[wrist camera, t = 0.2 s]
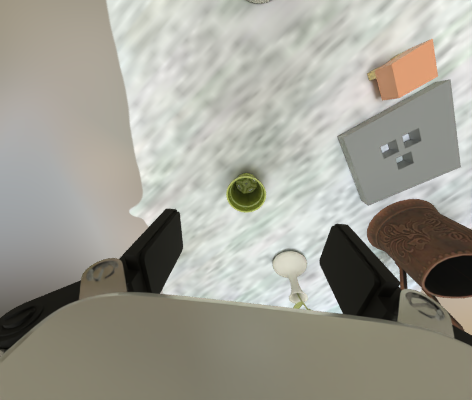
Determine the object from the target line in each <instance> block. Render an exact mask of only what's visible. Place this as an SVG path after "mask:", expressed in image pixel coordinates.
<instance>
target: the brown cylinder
mask: <svg viewBox="0 0 472 400" xmlns="http://www.w3.org/2000/svg"><path fill="white" fill-rule="evenodd" d="M367 237H368V240H369V242H370V243H371V244H372V245H373V246H374V247H376V248H378V249H380V250H383V251H385V252H386V253H387V254H388V255H389V256H390V257H391V258H392V259H393V260H394V261H395V264H396V265H397V266H398V267H399V269H400V289H401V290H404V289H407V276H406V273H407V274H408V275H409V276H410V277H411V278H412V279H413V280H414V281H415V282H416V283H417V284H419V285H420V286H421V287H422V288H421V289H422V290H423V291H424V292H425V293H426V294H427V296H429V297H430V298H432V299H433V300H435V301H436V302H438V300H437V298H436V297H435V296H437V297H443V298H468V297H472V230H471V229H469V228H467V227H465V226H463V225H461V224H459V223H457V222H455V221H453V220H451V219H449V218H447V217H445V216H443V215H441V214H440V213H439V212H438V211H437V210H436V208H435V207H434V205H432V204H431V203H429V202H427V201H424V200H420V199H408V200H403V201H399V202H396V203H394V204H391V205H389V206H387V207H386V208H384V209H382V210H381V211H380V212H379V213H378V214H377V215H375V216H374V218H373V219H372V220H371V222H370V223H369V226H368V229H367ZM438 303H439V302H438ZM439 304H440V303H439ZM447 313H448V312H447ZM448 314H449V313H448ZM449 316H450V318H451V322H452V324H453V325H454V326H456V327H458V328H459V329H461V330H463V331H464V329H463V327H462V326H461V325H460V324H459V323H458V322H457V321H456V320H455V319H454V318H453V317H452V316H451V315H450V314H449Z"/></svg>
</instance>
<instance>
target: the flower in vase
mask: <svg viewBox="0 0 472 400" xmlns="http://www.w3.org/2000/svg"><path fill="white" fill-rule="evenodd" d="M306 267H307V261H306V258H305V257H304V256H303V255H301V254H300V253H297V252H294V251H286V252H283V253H280V254H279V255H277V256H276V257H275V259H274V261H273V269H274V270H275V272H276V273H277V274H279V275H280V276H282V277H285V278H289V279H290V283H291V295H290V296H289V300H290V301H291V302H292V303H295V306H294V307H293V308H296V309H299V308H300V307H301V306H302V305H304V306H305V307H306V305H305V304H304V302H306V301H307V299H308V296H307V295H306V294H305V293H304V292H303V291H302V290H301V288H300V286H299V283H298V280H297V277H298V276H300V275H301V274H302V273H303V272H304V271H305V270H306ZM306 309H307V310H310V309H308V308H307V307H306Z"/></svg>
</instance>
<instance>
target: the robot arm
mask: <svg viewBox="0 0 472 400" xmlns="http://www.w3.org/2000/svg"><path fill="white" fill-rule="evenodd" d="M248 1H249V2H253V3H265V2H268V1H270V0H248ZM182 249H183V241H182V231H181V221H180V213H179V212H177V210H176V209H165V210H164V211H163V213H162V214H161V215H160V216H159V217H158V218H157V219H156V220H155V221H154V222H153V223H152V224H151V225H150V226H149V227H148V229H147V230H146V231H145V232H144V233H143V234H142V235H141V236H140V237H139V238H138V239H137V240H136V241H135V242H134V243H133V244H132V246H131V247H130V248H129V249H128V250H127V251H126V252H125V253H124V254H123V256H122V257H121V258H120V259H117V258H108V259H104V260H101V261H99V262H96V263H95V264H93V265H91V266H90V267H89V268H88V269H86V270H85V272H84V273H83V275H82V277H81V281H78V282H76V283H73V284H71V285H68V286H66V287H63V288H61V289H58V290H56V291H53V292H51V293H48V294H46V295H44V296H41V297H39V298H36V299H34V300H31V301H29V302H26V303H24V304H22V305H20V306H18V307H16V308H14V309H12V310H11V311H9V312H8V313H6V314H5V315H4V316H2V317H1V318H0V400H472V335H470V334H468V333H466V332H465V331H463V330H461V329H459V328H458V327H456V326H454V325H452V322H451V318H450V316H449V314H448V313H447V311H446V310H445V309H444V308H443V307H442V306H441V305H440V304H439V303H438V302H436V301H435V300H433V299H432V298H430V297H429V296H427V295H425V294H423V293H421V292H418V291H416V290H412V289H404V290H401V289H400V288H399V287H398V286H399V285H400V282H399V281H398V279H397V278H396V277H395V276H394V275H393V274H392V273H391V272H390V271H389V270H388V268H387V267H386V266H385V265H384V264H383V263H382V262H381V261H380V260H379V259H378V258H377V256H376V255H375V254H374V253H373V252H372V251H371V250H370V249H369V248H368V247H367V245H366V244H365V243H364V242H363V241H362V240H361V239H360V238H359V237H358V236H357V234H356V233H355V232H354V231H353V230H352V229H351V228H350V227H349V226H348V225H345V224H335V226H332V227H331V230H330V233H329V235H328V238H327V241H326V244H325V246H324V249H323V252H322V255H321V257H320V266H321V268H322V270H323V272H324V274H325V276H326V279H327V281H328V283H329V285H330V287H331V289H332V291H333V293H334V295H335V298H336V300H337V302H338V304H339V306H340V308H341V310H342V312H343V314H338V313H330V312H321V311H313V310H304V309H296V308H287V307H278V306H270V305H261V304H252V303H243V302H234V301H225V300H216V299H206V298H197V297H188V296H178V295H167V294H160V292H161V291H162V289H163V287H164V285H165V283H166V281H167V279H168V277H169V275H170V273H171V271H172V269H173V267H174V265H175V264H176V262H177V260H178V258H179V256H180V254H181V252H182Z"/></svg>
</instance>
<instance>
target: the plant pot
mask: <svg viewBox="0 0 472 400" xmlns="http://www.w3.org/2000/svg"><path fill="white" fill-rule="evenodd" d="M253 179H254V180H255V181H254V180H253ZM246 183H247V185H246ZM238 185H239V186H240V188H241V189H240V188H239V187H238ZM251 189H252V190H251ZM249 190H251V191H249ZM226 196H227V200H228V202H229V204H230V205H231V206H232V207H233V208H234V209H236V210H237V211H240V212H253V211H255V210H257V209H259V208H260V207H261V206H262V205H263V203H264V201H265V199H266V191H265V188H264V186H263V184H262V183H261V182H260V181H259V180H257V179H256V178H255V176H254V175H252V174H249V173H243V174H241V175H239V176H238V178H236V179H235V180H233V181H232V182H231V183H230V185H229V186H228V188H227V193H226Z"/></svg>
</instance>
